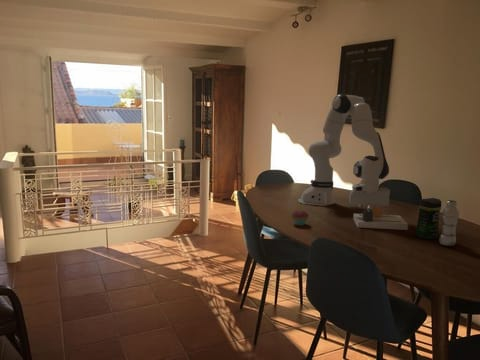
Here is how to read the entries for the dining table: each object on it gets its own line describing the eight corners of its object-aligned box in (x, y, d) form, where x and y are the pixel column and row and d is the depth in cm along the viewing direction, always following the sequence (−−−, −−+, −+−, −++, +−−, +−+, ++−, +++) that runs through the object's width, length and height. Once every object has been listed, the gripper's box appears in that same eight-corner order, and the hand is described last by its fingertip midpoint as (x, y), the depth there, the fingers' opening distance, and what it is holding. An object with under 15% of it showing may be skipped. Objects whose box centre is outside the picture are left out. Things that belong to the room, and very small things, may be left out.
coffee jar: (427, 240, 180) (431, 201, 177) (412, 236, 187) (416, 197, 184) (441, 238, 185) (445, 199, 182) (426, 233, 192) (430, 195, 188)
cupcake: (309, 223, 206) (310, 200, 204) (306, 227, 198) (307, 204, 196) (292, 221, 209) (293, 199, 207) (289, 225, 201) (290, 202, 199)
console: (357, 227, 200) (358, 221, 199) (353, 218, 215) (353, 213, 215) (407, 229, 197) (408, 223, 196) (399, 221, 212) (399, 215, 212)
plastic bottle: (435, 243, 178) (440, 199, 174) (449, 242, 178) (454, 199, 175) (443, 248, 171) (448, 202, 168) (458, 247, 172) (464, 202, 168)
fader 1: (364, 220, 200) (364, 211, 199) (362, 218, 205) (363, 208, 204) (372, 221, 199) (373, 211, 198) (370, 218, 204) (371, 208, 203)
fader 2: (373, 216, 208) (374, 207, 207) (371, 214, 213) (372, 205, 212) (381, 217, 207) (382, 207, 206) (379, 214, 212) (380, 205, 211)
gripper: (389, 186, 209) (387, 212, 212) (349, 185, 212) (347, 210, 215) (391, 189, 203) (389, 215, 206) (350, 187, 206) (349, 213, 208)
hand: (368, 212), depth 210 cm, fingers closed
